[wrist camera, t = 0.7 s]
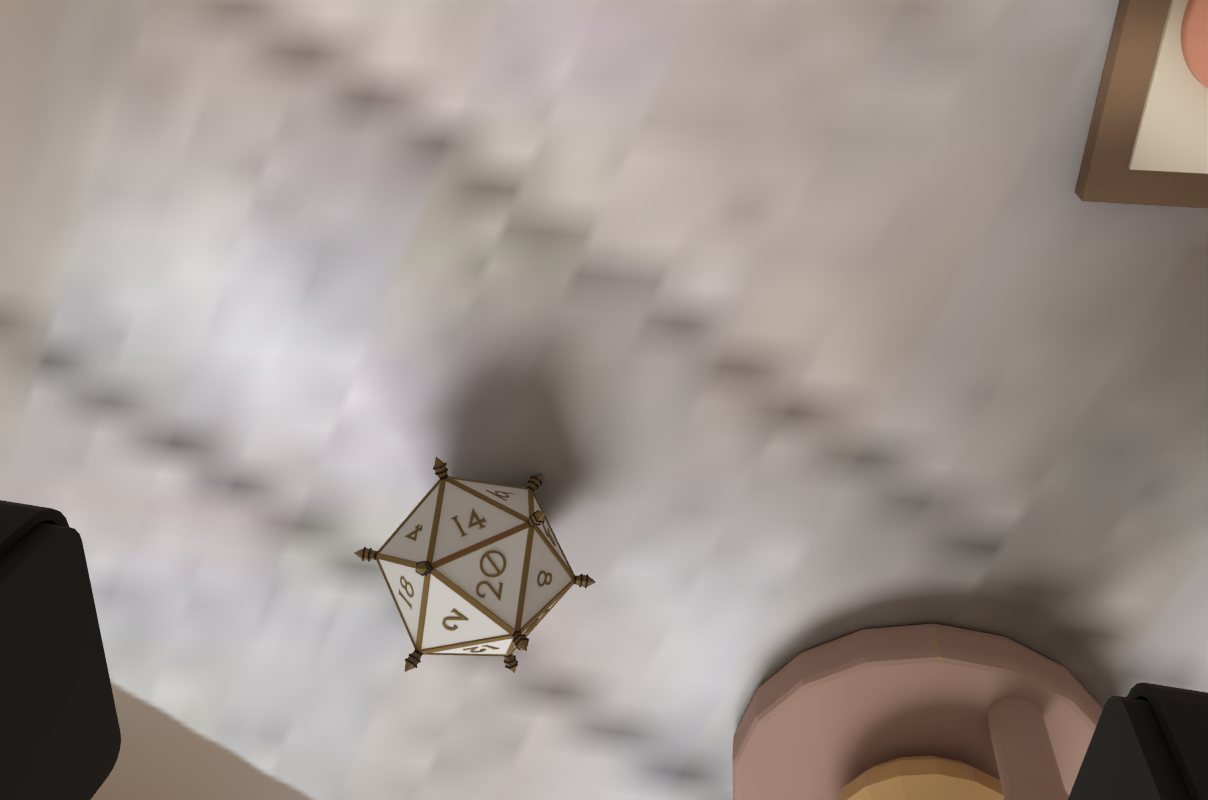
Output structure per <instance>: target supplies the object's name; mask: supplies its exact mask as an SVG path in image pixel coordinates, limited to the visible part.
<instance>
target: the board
mask: <svg viewBox="0 0 1208 800" xmlns="http://www.w3.org/2000/svg"><path fill="white" fill-rule="evenodd" d="M1188 2H1189V0H1120V2H1119V6H1118V10H1117V14H1116V19H1115V23H1114V27H1113V32H1112V36H1111V40H1110V44H1109V49H1108V53H1107V57H1106V61H1105V66H1104V70H1103V74H1102V79H1101V83H1100V87H1099V91H1098V96H1097V100H1096V104H1095V109H1094V113H1093V117H1092V121H1091V126H1090V130H1089V134H1088V139H1087V143H1086V147H1085V151H1084V156H1083V160H1082V164H1081V168H1080V173H1079V177H1078V181H1077V186H1076V190H1075V193H1076V194H1077V195H1078V197H1079V198H1080V199H1081V200H1082V201H1093V202H1110V203H1127V204H1145V205H1162V206H1179V207H1197V208H1208V88H1206V87H1205V86H1203V85H1202V84H1201V83H1200V82H1199V81H1198V80H1197V79H1196V78H1195V77H1194V76H1193V74H1192V73H1191V71H1190V70H1189V68H1188V66H1187V64H1186V62H1185V59H1184V56H1183V52H1182V48H1181V26H1182V21H1183V16H1184V13H1185V10H1186V7H1187V4H1188Z"/></svg>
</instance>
